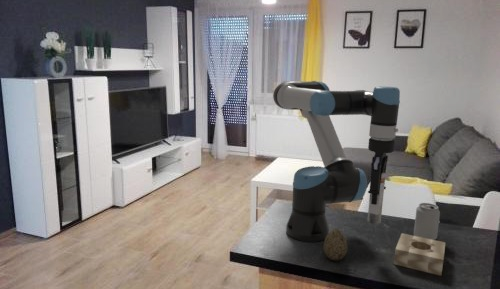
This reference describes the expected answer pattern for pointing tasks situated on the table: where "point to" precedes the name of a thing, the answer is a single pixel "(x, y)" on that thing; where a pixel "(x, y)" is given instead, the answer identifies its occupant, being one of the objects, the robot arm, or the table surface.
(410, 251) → the collar
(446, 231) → the table surface
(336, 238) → the decorative egg
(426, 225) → the can
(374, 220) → the tube
